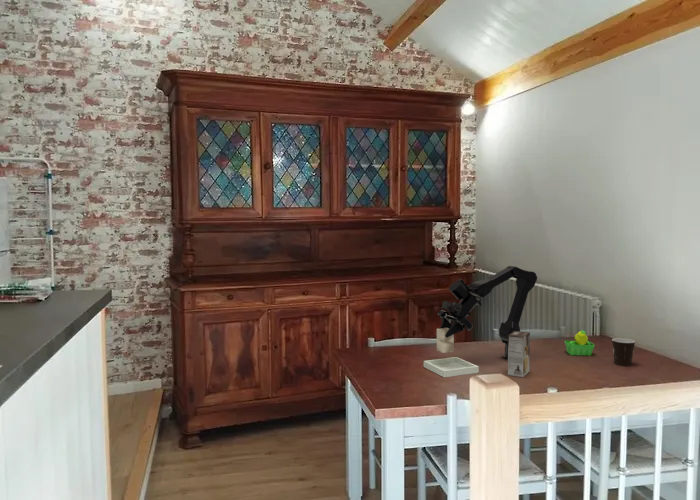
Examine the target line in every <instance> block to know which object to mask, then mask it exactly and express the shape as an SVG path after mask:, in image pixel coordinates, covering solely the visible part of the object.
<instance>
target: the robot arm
mask: <svg viewBox="0 0 700 500" xmlns="http://www.w3.org/2000/svg"><path fill="white" fill-rule="evenodd" d="M511 278H514V279H515V285H516V292H515V295H514V298H513V302H512V305H511V307H510V310H509V314H508V318H507V320H506V321H505V322H503V321H502V322H501V323H500V326H499V329H498V337H499V338H500V339H501V342H502V344H504V355H502V356H501V357H502V358H503V359H507V360H508V335H509V334H511V333H512V332H514V331H520V332H521V328H520V321H521V318H522V315H523V311H524V308H525V305H526V302H527V298H528V294H529V293H530V291H531V290H532V289H533V288H534V287H535V285H536V283H537V281H538V276H537V274H536V272H534V271H531V270H525V269H522V268H519V267H518V266H513V265H508V266H507V267H506V268H505V267H504V269H502V270H499V272H496V273H494V274H493V275H491V276H489V277H488V278H485V279H481V280H476V281H473V282H472V283H471V284H469V285H467V284H466V282H465V281H464V280H463V279H461V278H459V279H458V280H456V281H454V282H453V283H451V284H450V286H449V288H448V290H449V291H450V293H452V295H453V296H454V297H455V298H456V300H460V301H459V303H457V302H455V301H453V302H452V303H451V302H449V301H446V300H444V301H443V302H442V305H441V309H440V310H439V311H438V312H437V315H438V316H439V317H440V318H441V324H440V326H439V329H440V328H449V330H448V332H447V333H446V335H445V337H449V336H451V335H455V334H458V333H460V332H464V331H465V330H467V331H471V330H472V329H473V325H474V324H473V323H472V321H470V320H469V319H468V318H467V317H468V316H469V317H470V316H471V315H472V313H471V311H472V310H473V309H474V308H475V306H480V307H482V299H481V298H485V297H486V296H488V295H489V294H491V292H492V291H493V289H494V288H496V287H497V286H499V285H501V284H503V283H504V282H507V280H509V279H511ZM477 297H479V298H477ZM446 310H447V311H446Z"/></svg>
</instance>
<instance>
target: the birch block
mask: <svg viewBox="0 0 700 500" xmlns="http://www.w3.org/2000/svg"><path fill="white" fill-rule="evenodd" d="M449 329H450V328H440V327H439V328H436V351H437V352H440V353H442V354H447V353H453V352H454V351H455V350H454V349H455V348H454V347H455V346H454V341H455V339H454V337H455V336H454V335H455V334H454V335H451V336H449V337H445V335H446V333H447V332H448V330H449Z"/></svg>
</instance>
